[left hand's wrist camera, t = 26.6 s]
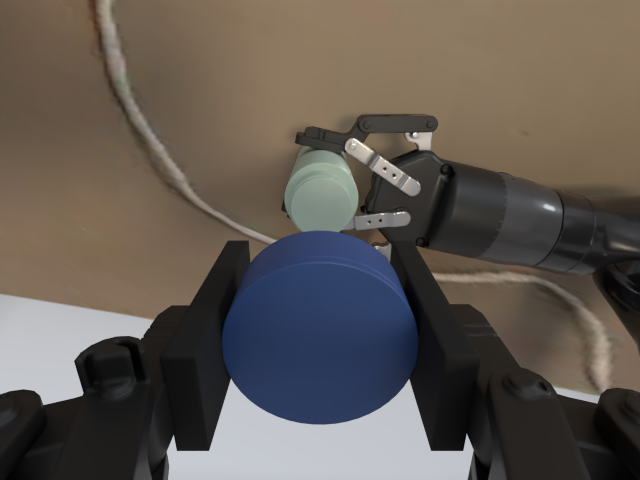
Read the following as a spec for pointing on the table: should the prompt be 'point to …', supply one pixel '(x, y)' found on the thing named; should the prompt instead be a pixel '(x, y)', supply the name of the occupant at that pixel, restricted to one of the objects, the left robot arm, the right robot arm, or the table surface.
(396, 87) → the table surface
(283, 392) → the lid
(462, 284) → the table surface
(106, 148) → the table surface
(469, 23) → the table surface
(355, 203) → the green bottle
